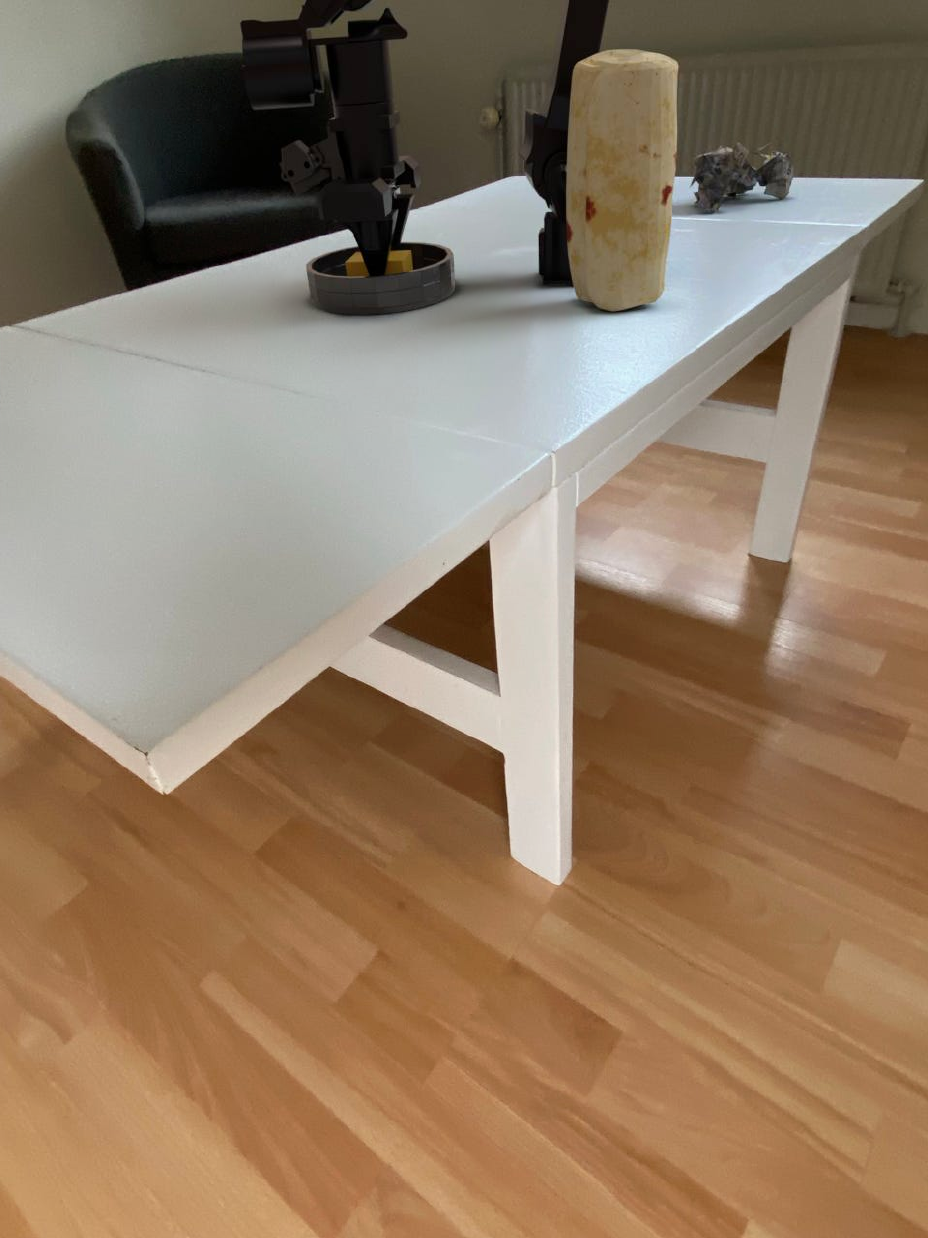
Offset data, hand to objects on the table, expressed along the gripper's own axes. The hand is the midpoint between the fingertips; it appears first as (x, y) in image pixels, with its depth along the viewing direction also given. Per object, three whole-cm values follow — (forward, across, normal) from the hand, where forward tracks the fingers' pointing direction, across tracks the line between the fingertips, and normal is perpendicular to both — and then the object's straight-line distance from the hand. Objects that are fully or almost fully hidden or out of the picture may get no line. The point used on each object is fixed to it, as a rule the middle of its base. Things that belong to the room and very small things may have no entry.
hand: (383, 277), depth 85 cm
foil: (+2, -41, +41) cm, 58 cm away
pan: (+2, 0, 0) cm, 2 cm away
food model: (+2, +6, +24) cm, 25 cm away
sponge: (+1, 0, 0) cm, 1 cm away
